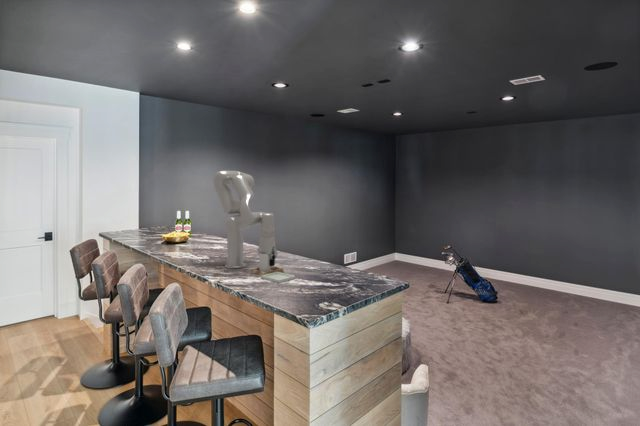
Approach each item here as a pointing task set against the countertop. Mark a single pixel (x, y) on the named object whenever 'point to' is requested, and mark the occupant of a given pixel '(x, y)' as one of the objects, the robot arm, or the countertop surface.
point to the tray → (278, 277)
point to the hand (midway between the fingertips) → (267, 264)
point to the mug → (264, 262)
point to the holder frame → (258, 272)
